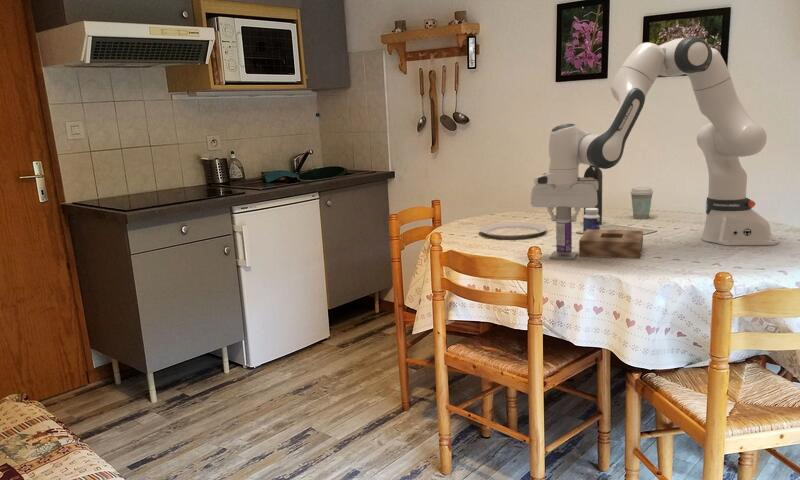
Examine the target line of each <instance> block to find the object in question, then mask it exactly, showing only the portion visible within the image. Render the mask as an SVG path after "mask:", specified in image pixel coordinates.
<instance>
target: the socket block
mask: <svg viewBox="0 0 800 480" xmlns="http://www.w3.org/2000/svg"><path fill="white" fill-rule="evenodd" d="M643 236H644V230H633V229H632V230H627V229H626V230H624V229H600V230H595V229H587V230H586V231H585V233H584V234H583V233H582V236H581V238H580V239H579V240H578V248H579V249H578V256H579V257H594V258H596V257H597V258H598V257H599V258H603V257H604V258H621V259H622V258H623V259H641V254H642V249H643V246H644V245H643V244H644V240H643V239H644V237H643Z"/></svg>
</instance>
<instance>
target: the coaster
mask: <svg viewBox="0 0 800 480" xmlns="http://www.w3.org/2000/svg"><path fill="white" fill-rule="evenodd" d="M577 256H579V251H578V252H577V251H572V253H570V254H558V253H557V250H553V252H552V253H551V254H550V256H549V260H560V261H575V259H576V258H577Z"/></svg>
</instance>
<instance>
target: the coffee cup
mask: <svg viewBox="0 0 800 480" xmlns="http://www.w3.org/2000/svg"><path fill="white" fill-rule="evenodd" d="M653 194H654V191H653V188H652V187H649V186H648V187H645V186H642V187H640V186H639V187H637V186H636V187H632V188H631V191H630V195H631V196H630V197H631V206H632V207H631V208H632V217H633V218H634V219H636V220H646V219H649V218H650V211H651V207H652V206H651V205H652V199H653V198H652V197H653Z"/></svg>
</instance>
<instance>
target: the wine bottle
mask: <svg viewBox="0 0 800 480" xmlns="http://www.w3.org/2000/svg"><path fill="white" fill-rule="evenodd" d="M601 169H602V168H598V167H595V166H591V165H588V167H587V168H586V169H585V171H584V174H583V177H585V178H589V177H593V178H594V179H596V180H597V181H598V183H599V188H598V190H597V198H598V204H597V205H596V206H595V207H594V208H598V215H599V216H600V225H602V223H603V222H602V221H603V171H602V170H601ZM593 181H595V180H593ZM585 214H586V213H585V208H583V216H584V215H585Z"/></svg>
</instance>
